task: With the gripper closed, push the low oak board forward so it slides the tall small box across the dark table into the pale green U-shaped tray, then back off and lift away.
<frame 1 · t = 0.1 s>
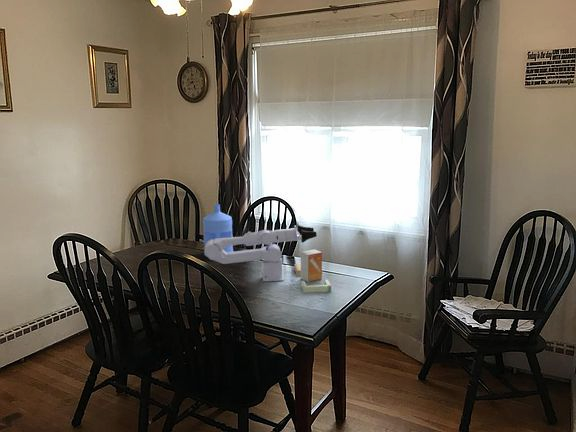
hand: (314, 232, 227), 22 cm above the table, tool horizontal, fingers open, 7 cm apart
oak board: (308, 272, 238), on the table
small box: (311, 279, 229), on the table
water jug: (218, 255, 268), on the table
tray: (316, 288, 215), on the table
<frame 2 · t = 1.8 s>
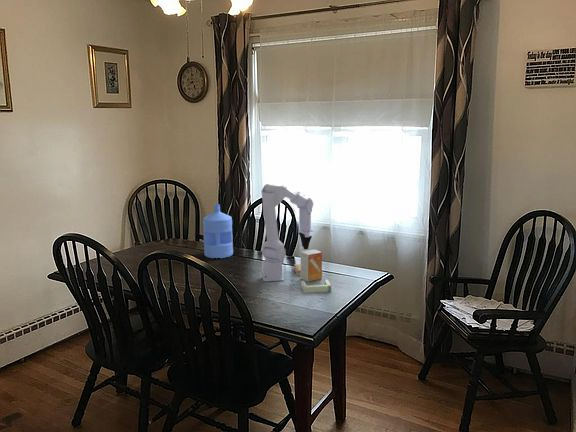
hand: (305, 247, 246), 9 cm above the table, tool pointing down, fingers open, 5 cm apart
nothing on the table moved.
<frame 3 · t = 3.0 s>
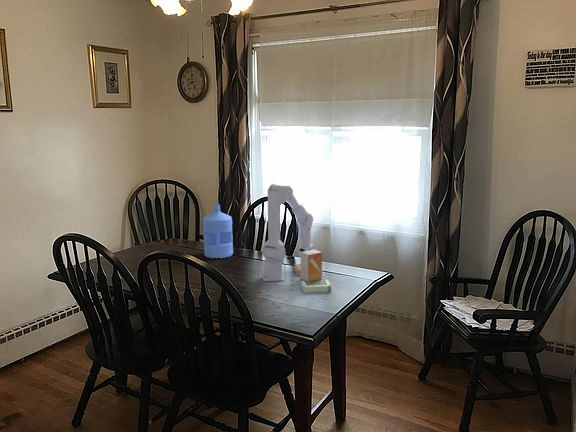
hand: (305, 262, 248), 2 cm above the table, tool pointing down, fingers closed
nothing on the table moved.
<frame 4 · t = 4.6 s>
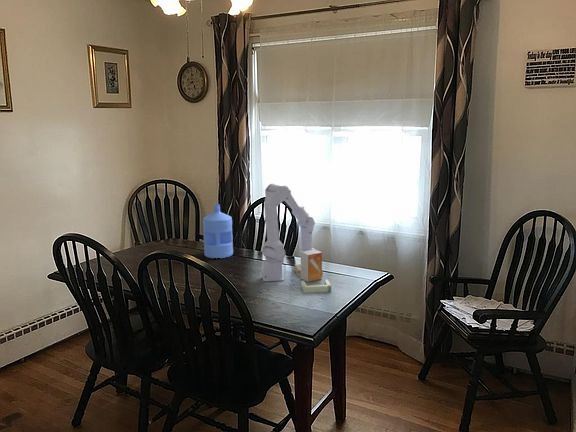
hand: (306, 266, 243), 1 cm above the table, tool pointing down, fingers closed
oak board: (308, 273, 238), on the table, touching gripper, small box
small box: (311, 279, 228), on the table, touching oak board
everything else where it was.
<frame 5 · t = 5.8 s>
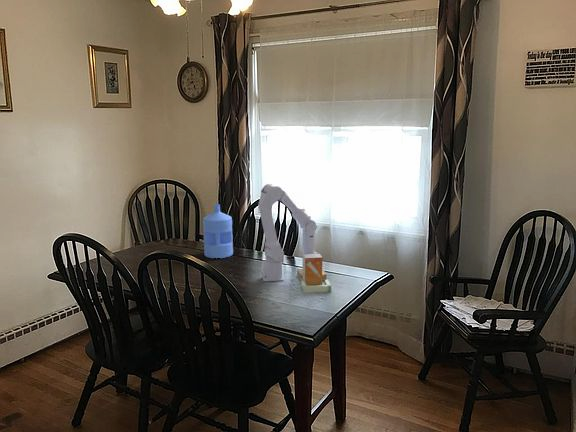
hand: (308, 271, 236), 1 cm above the table, tool pointing down, fingers closed
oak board: (311, 277, 231), on the table, touching gripper
small box: (312, 283, 223), on the table
everything else where it was.
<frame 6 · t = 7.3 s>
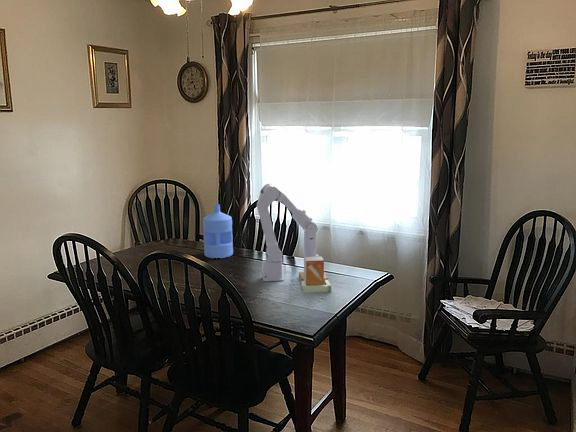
hand: (309, 273, 232), 1 cm above the table, tool pointing down, fingers closed
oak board: (313, 281, 227), on the table
small box: (313, 286, 219), on the table
everything else where it was.
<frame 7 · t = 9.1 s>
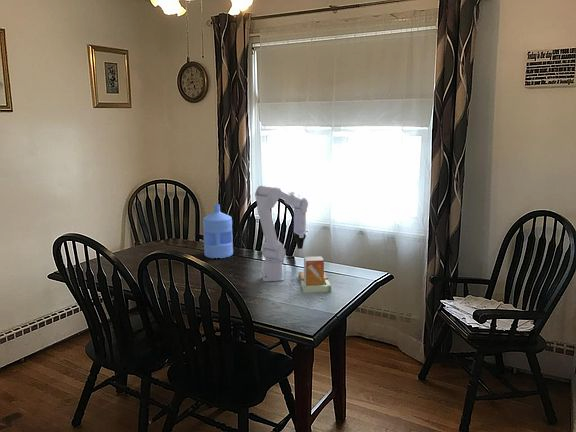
hand: (299, 248, 243), 10 cm above the table, tool pointing down, fingers closed
nothing on the table moved.
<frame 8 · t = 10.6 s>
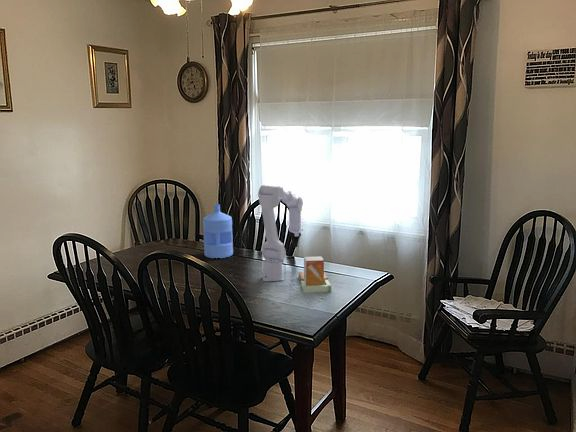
hand: (295, 246, 246), 10 cm above the table, tool pointing down, fingers closed
nothing on the table moved.
at the end: small box inside the target area (1.7 cm from its centre), on the table; small box tilted 0° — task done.
